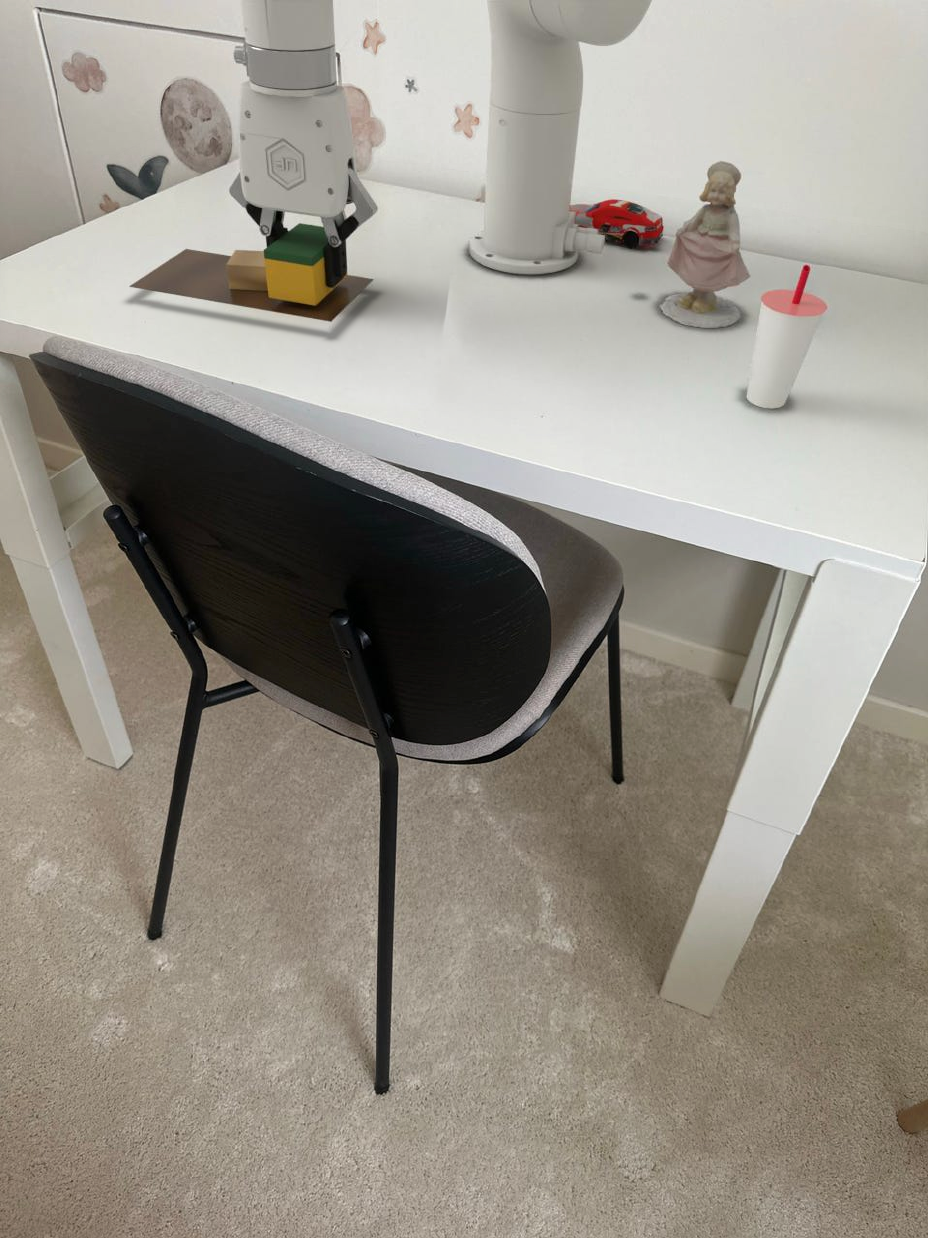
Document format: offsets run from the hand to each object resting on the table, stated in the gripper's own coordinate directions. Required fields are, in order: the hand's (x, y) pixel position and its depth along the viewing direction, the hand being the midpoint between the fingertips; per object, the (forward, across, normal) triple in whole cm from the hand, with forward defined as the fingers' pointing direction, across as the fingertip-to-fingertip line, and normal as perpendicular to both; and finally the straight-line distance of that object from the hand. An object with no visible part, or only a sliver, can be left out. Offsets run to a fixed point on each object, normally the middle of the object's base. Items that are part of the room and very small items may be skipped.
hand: (308, 276), depth 89 cm
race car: (+3, +25, +32) cm, 41 cm away
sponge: (+1, 0, 0) cm, 1 cm away
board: (+3, -6, 0) cm, 7 cm away
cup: (+3, +46, -3) cm, 46 cm away
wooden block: (+2, -6, 0) cm, 7 cm away
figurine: (+3, +37, +14) cm, 39 cm away
